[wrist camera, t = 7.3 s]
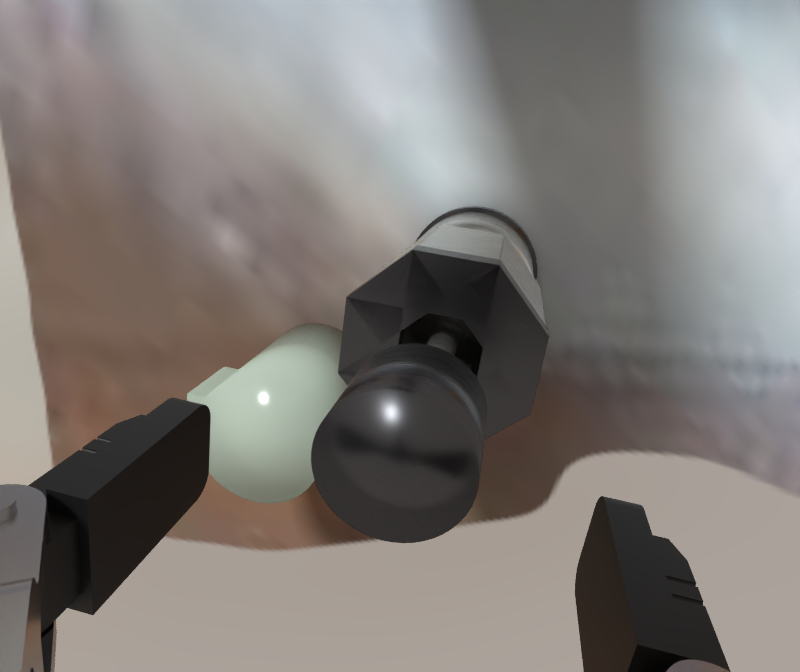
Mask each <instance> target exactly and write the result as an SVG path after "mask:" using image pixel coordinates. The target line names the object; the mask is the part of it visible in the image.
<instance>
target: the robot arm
mask: <svg viewBox="0 0 800 672" xmlns="http://www.w3.org/2000/svg"><path fill="white" fill-rule="evenodd" d="M210 422H211V414H210V410H209V408H208V406H206V405H203V404H199V403H194V402H190V401H186V400H181V399H177V398H170V399H168V400H167V401H165V402H164V403H162V404H161V405H160V406H158V407H157V408H156V409H154V410H153V411H152V412H150V413H149V414H147V415H146V416H145V415H139V416H136V417H134V418H131V419H128V420H125V421H123V422H120V423H117V424H115V425H114V426H113V427H111V428H110V429H108V430H107V431H105V432H104V433H103V434H101V435H100V436H98V439H97V440H95V439H94V440H93V441H91V442H90V443H88V444H87V445H85V446H84V447H83V449H82V451H80V450H78V451H77V452H75V453H74V454H73V455H71V456H70V457H68V458H67V459H65V460H64V461H63V462H61V463H60V464H58V465H57V466H55V467H54V468H53V469H51V470H50V471H48V472H47V473H45V474H44V475H43V476H41V477H40V478H38V479H37V480H36V481H34V482H33V483H31V484H30V485H28V486H26V485H19V484H7V485H0V672H54V667H55V651H56V633H57V632H56V619H57V617H59V616H60V614H61V613H62V612H63V611H64V610H65V609H66V608H70V609H73V610H77V611H80V612H84V613H88V614H91V615H94V614H95V612H96V611H97V610H98V609H99V608H100V607H101V606H102V604H104V602H105V601H106V600H107V599H108V598H109V597H110V596H111V595H112V594H113V593H114V591H115V590H116V589H117V588H118V587H119V586H120V585H121V584H122V583H123V581H124V580H125V579H126V578H127V577H128V576H129V575H130V574H131V573H132V571H133V570H134V569H135V568H136V567H137V566H138V565H139V564H140V563H141V561H142V560H143V559H144V558H145V557H146V556H147V555H148V554H149V553H150V552H151V550H152V549H153V548H154V547H155V546H156V545H157V544H158V543H159V542H160V540H161V539H162V538H163V537H164V536H165V535H166V534H167V533H168V532H169V530H170V529H171V528H172V527H173V526H174V525H175V524H176V523H177V522H178V520H179V519H180V518H181V517H182V516H183V515H184V514H185V513H186V512H187V511H188V509H189V508H190V507H191V506H192V505H193V504H194V503H195V502H196V501H197V499H198V498H199V497H200V495H201V493H202V491H203V489H204V487H205V484H206V481H207V478H208V473H209V453H210ZM695 585H696V582H695V579H694V576H693V574H692V571H691V569H690V566H689V564H688V561H687V560H686V559H685V557H684V556H683V555H682V554H681V553H680V552H679V551H678V549H676V547H675V546H674V545H673V544H672V543H671V542H670V540H669V539H666V538H662V537H657V536H653V535H652V533H651V529H650V526H649V523H648V520H647V517H646V514H645V511H644V508H643V507H642V506H641V505H638V504H633V503H629V502H625V501H621V500H616V499H612V498H607V497H603V496H601V497H600V498H599V499H598V501H597V503H596V506H595V509H594V512H593V516H592V519H591V523H590V526H589V529H588V532H587V536H586V539H585V542H584V546H583V549H582V552H581V556H580V559H579V563H578V567H577V573H576V582H575V597H576V605H577V615H578V624H579V633H580V641H581V650H582V659H583V668H584V672H730V669H729V667H728V664H727V661H726V659H725V656H724V654H723V651H722V649H721V646H720V643H719V641H718V638H717V636H716V633H715V631H714V628H713V625H712V623H711V620H710V618H709V615H708V613H707V610H706V607H705V606H703V600H702V597H701V595H700V592H699V589H698V587H696V586H695Z"/></svg>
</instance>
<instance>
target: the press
mask: <svg viewBox="0 0 800 672" xmlns="http://www.w3.org/2000/svg"><path fill="white" fill-rule="evenodd" d="M536 278H537V265H536V257H535V253H534V249H533V247H532V244H531V242H530V240H529V238H528V237H527V235H526V233H525V232H524V231H523V229H522V228H521V227H520V226H519V225H518V224H517V223H516V222H515V221H513V220H512V219H511V218H509V217H508V216H506V215H504V214H503V213H501V212H498V211H496V210H493V209H489V208H485V207H463V208H458V209H455V210H452V211H449V212H447V213H445V214H443V215H441V216H440V217H438V218H437V219H435V220H434V221H433V222H432V223H431V224H429V225H428V226H427V227H426V228H425V229H424V231H423V232H422V233H421V234H420V236H419V237H418V239H417V241H416V242H415V243H414V244H413V245H411V246H410V247H409V248H407V249H406V250H405V251H403V252H402V253H400V254H399V255H398V256H396V257H395V258H394V259H392V260H391V261H390V262H389V263H388V264H386V265H385V266H384V267H383V268H382V269H381V270H380V271H378V272H377V273H376V274H375V275H374V276H373V277H372V278H370V279H369V280H368V281H367V282H365V283H364V284H363V285H361V286H360V287H359V288H357V289H356V290H354V291H353V292H352V293H351V294H350V295H348V296H347V298H346V307H345V315H344V324H343V332H342V341H341V350H340V358H339V367H338V374H339V375H340V377H341V378H342V379H343V381H344V382H345V383H346V385H347V386H348V385H349V383H350V382H351V381H352V379H353V378H354V377H355V375H356V374H357V372H358V371H359V370H360V368H361V367H362V366H363V365H364V363H365V362H366V361H367V360H368V359H370V358H371V357H372V356H374V355H375V354H377V353H378V352H380V351H382V350H384V349H386V348H389V347H392V346H396V345H400V344H408V343H418V344H426V345H427V343H428V340H429V338H430V336H431V334H432V332H433V330H434V328H435V326H436V324H437V322H438V320H439V318H440V316H441V315H442V316H447V317H452V318H457V319H462V320H463V321H464V322H465V325H464V328H463V331H462V335H461V338H460V341H459V344H458V347H457V350H456V353H455V356H456V357H457V358H458V359H460V360H461V361H462V362H463V363H464V364H466V365H467V366H468V367H469V368H470V370H471V371H472V372H473V373H474V374H475V376H476V378H477V379H478V381H479V382H480V384H481V387H482V389H483V391H484V394H485V398H486V403H487V423H486V431H485V439H487V438H488V437H490V436H492V435H494V434H495V433H497V432H499V431H501V430H503V429H504V428H506V427H508V426H510V425H512V424H513V423H515V422H517V421H519V420H521V419H522V418H524V417H526V416H528V415H530V413H531V409H532V405H533V401H534V396H535V392H536V388H537V384H538V380H539V376H540V371H541V367H542V363H543V359H544V355H545V351H546V346H547V342H548V338H549V333H548V328H547V326H546V325H545V319H544V311H543V303H542V295H541V288H540V285H539V284H538V283H537V281H536ZM485 439H484V440H485Z"/></svg>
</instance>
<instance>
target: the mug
mask: <svg viewBox="0 0 800 672" xmlns="http://www.w3.org/2000/svg"><path fill="white" fill-rule="evenodd" d="M341 341H342V331H340V330H338V329H336V328H334V327H331V326H328V325H324V324H304V325H300V326H297V327H295V328H292V329H291V330H289V331H287V332H286V333H285V334H283V335H282V336H281V337H280V338H278V339H277V340H276V341H275V342H273V343H272V344H271V345H269V346H268V347H267V348H266V349H264V350H263V351H262V352H261V353H259V354H258V355H257V356H256V357H254V358H253V359H252V360H250V361H249V362H248V363H247V364H245V365H244V366H243V367H242V368H240V369H239V370H238V369H234V368H229V367H223V368H222V369H220V370H219V371H218V372H216V373H215V374H213V375H212V376H211V377H209V378H208V379H207V380H205V381H204V382H203V383H201V384H200V385H199V386H197V387H196V388H195V389H193V390H192V391H191V392H189V393H188V394H187V401H190V402H194V403H199V404H203V405H206V406H208V408H209V410H210V414H211V422H210V453H209V473H210V474H211V475H212V477H213V478H214V479H215V480H216V481H217V482H218V483H220V484H221V485H222V486H223V487H224V488H226V489H227V490H229V491H230V492H232V493H234V494H235V495H237V496H240V497H242V498H244V499H247V500H250V501H254V502H259V503H279V502H285V501H288V500H291V499H293V498H295V497H297V496H299V495H300V494H302V493H303V492H305V491H306V490H307V489H308V488H309V487H310V486H311V485H312V483H313V482H314V481H315V480H314V476H313V472H312V466H311V449H312V444H313V440H314V437H315V434H316V431H317V429H318V427H319V425H320V423H321V422H322V421H323V419H324V418H325V417H326V415H327V414H328V412H329V411H330V410H331V408H332V407H333V406H334V404H335V403H336V401H337V400H338V399H339V397H340V396H341V395H342V393H343V392H344V390H345V389H346V388H347V385H346V383H345V382H344V381H343V379H342V378H341V377H340V375H339V374H338V367H339V358H340V350H341Z"/></svg>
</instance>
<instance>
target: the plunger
mask: <svg viewBox="0 0 800 672" xmlns="http://www.w3.org/2000/svg"><path fill="white" fill-rule="evenodd" d="M464 325H465V322H464V321H463V320H462V319H457V318H452V317H447V316H442V315H441V316H440V318H439V320H438V322H437V324H436V326H435V328H434V330H433V332H432V334H431V336H430V338H429V340H428V343H427V345H426V344H418V343H408V344H400V345H396V346H392V347H389V348H386V349H384V350H382V351H380V352H378V353H377V354H375V355H374V356H372V357H371V358H370V359H368V360H367V361H366V362H365V363H364V365H363V366H362V367H361V368H360V370H359V371H358V372H357V374H356V375H355V377H354V378H353V379H352V381H351V382H350V383H349V385H348V386H347V388H346V389H345V390H344V392H343V393H342V395H341V396H340V397H339V399H338V400H337V401H336V403H335V404H334V406H333V407H332V408H331V410H330V411H329V412H328V414H327V415H326V417H325V418H324V419H323V421H322V422H321V423H320V425H319V427H318V429H317V431H316V434H315V437H314V440H313V444H312V449H311V466H312V472H313V476H314V480H315V483H316V485H317V488H318V490H319V492H320V494H321V495H322V497H323V499H324V500H325V502H326V503H327V505H328V506H329V507H330V508H331V509H332V511H333V512H334V513H335V514H336V515H337V516H338V517H339V518H341V519H342V520H343V521H344V522H345V523H347V524H348V525H350V526H351V527H352V528H354V529H356V530H358V531H360V532H361V533H364V534H366V535H368V536H370V537H373V538H377V539H380V540H384V541H389V542H397V543H414V542H421V541H425V540H429V539H432V538H435V537H437V536H440V535H442V534H444V533H445V532H447V531H449V530H451V529H452V528H453V527H454V526H456V525H457V524H458V523H459V522H460V521H461V520H462V519H463V518H464V517H465V516H466V514H467V513H468V511H469V510H470V508H471V506H472V504H473V502H474V500H475V498H476V494H477V491H478V485H479V478H480V470H481V462H482V454H483V447H484V439H485V431H486V423H487V403H486V398H485V394H484V391H483V389H482V387H481V384H480V382H479V381H478V379H477V378H476V376H475V374H474V373H473V372H472V371H471V370H470V368H469V367H468V366H467V365H466V364H464V363H463V362H462V361H461V360H460V359H458V358H457V357H456V356H455V353H456V350H457V347H458V344H459V341H460V338H461V335H462V331H463V328H464Z"/></svg>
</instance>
